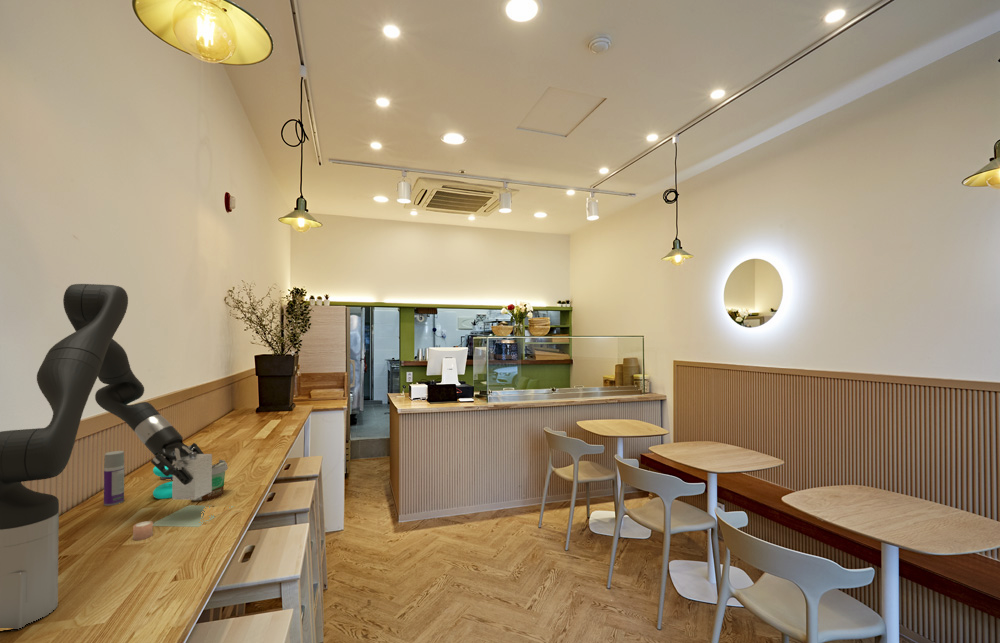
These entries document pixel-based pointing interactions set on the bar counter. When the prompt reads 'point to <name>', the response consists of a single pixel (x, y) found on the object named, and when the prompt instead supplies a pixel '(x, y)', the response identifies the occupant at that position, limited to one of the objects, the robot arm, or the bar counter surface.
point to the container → (114, 478)
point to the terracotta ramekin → (142, 530)
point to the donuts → (162, 486)
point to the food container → (215, 482)
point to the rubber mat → (184, 517)
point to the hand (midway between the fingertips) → (198, 478)
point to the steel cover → (194, 477)
